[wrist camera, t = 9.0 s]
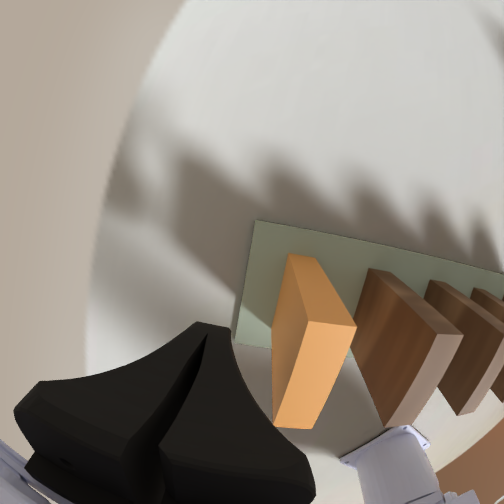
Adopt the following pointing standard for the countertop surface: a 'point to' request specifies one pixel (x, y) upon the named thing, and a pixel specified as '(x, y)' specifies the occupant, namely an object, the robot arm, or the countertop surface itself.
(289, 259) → the orange domino
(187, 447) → the robot arm
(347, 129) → the countertop surface
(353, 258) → the mat
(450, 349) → the domino
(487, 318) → the domino
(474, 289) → the domino
